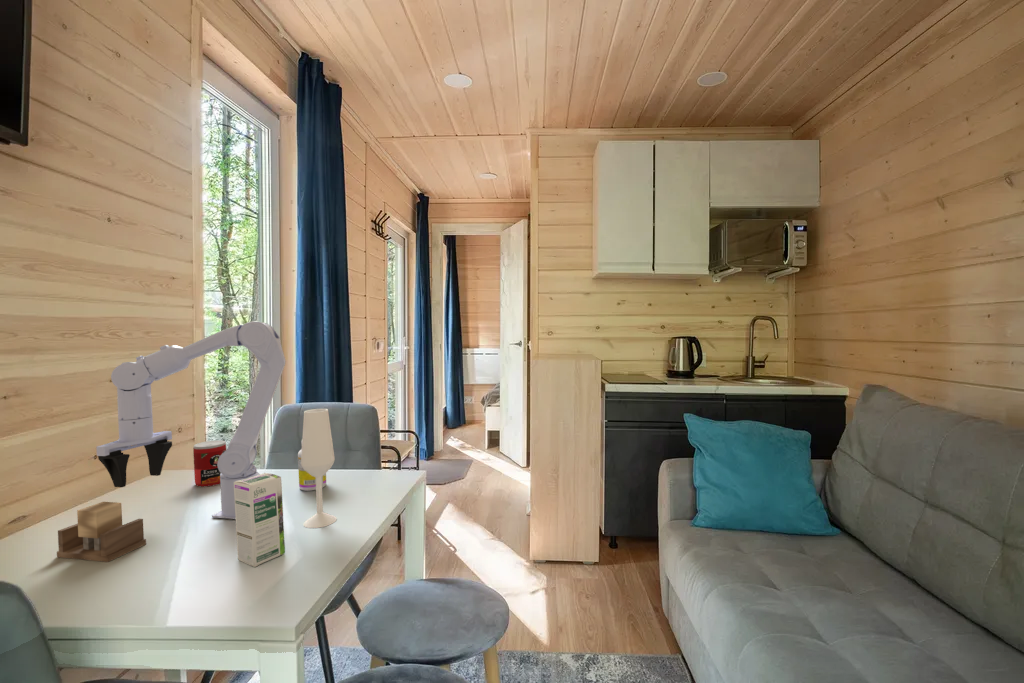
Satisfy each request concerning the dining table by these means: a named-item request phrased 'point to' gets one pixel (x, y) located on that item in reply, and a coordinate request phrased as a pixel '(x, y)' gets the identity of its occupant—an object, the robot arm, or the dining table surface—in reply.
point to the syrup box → (259, 518)
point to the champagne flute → (317, 458)
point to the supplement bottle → (307, 477)
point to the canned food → (207, 462)
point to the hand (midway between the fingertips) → (138, 480)
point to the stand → (101, 542)
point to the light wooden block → (99, 519)
